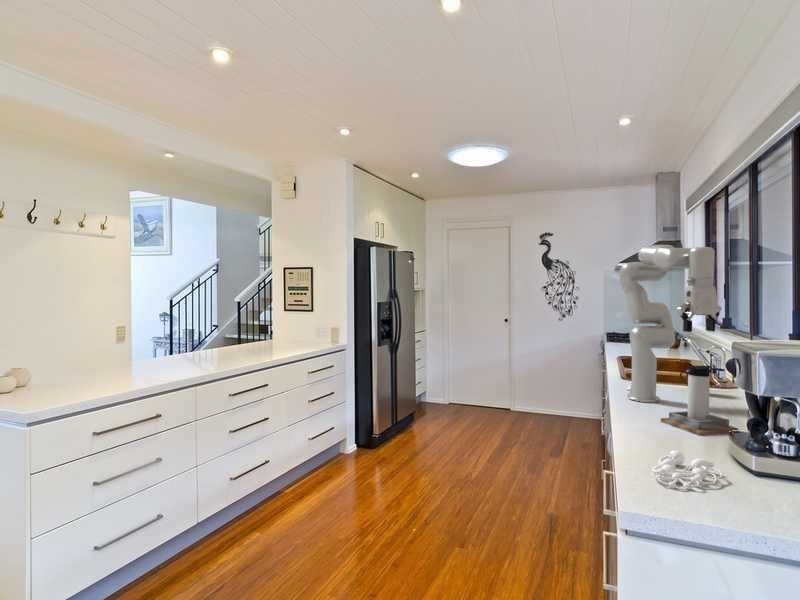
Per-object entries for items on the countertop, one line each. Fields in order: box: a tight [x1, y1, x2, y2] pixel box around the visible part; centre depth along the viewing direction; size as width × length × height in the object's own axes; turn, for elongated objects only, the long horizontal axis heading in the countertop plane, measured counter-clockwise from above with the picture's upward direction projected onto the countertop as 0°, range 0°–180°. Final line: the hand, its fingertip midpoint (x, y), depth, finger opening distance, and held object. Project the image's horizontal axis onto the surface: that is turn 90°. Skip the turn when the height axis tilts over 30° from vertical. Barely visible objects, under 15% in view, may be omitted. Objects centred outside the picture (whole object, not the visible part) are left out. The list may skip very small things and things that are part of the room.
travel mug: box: [687, 365, 712, 421], centre depth 162 cm, size 6×7×20 cm
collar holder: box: [660, 410, 739, 436], centre depth 162 cm, size 16×16×4 cm
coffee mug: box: [679, 369, 689, 386], centre depth 215 cm, size 12×9×10 cm
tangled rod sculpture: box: [650, 450, 724, 491], centre depth 118 cm, size 19×14×4 cm
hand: (698, 331), depth 165 cm, fingers open, 9 cm apart
